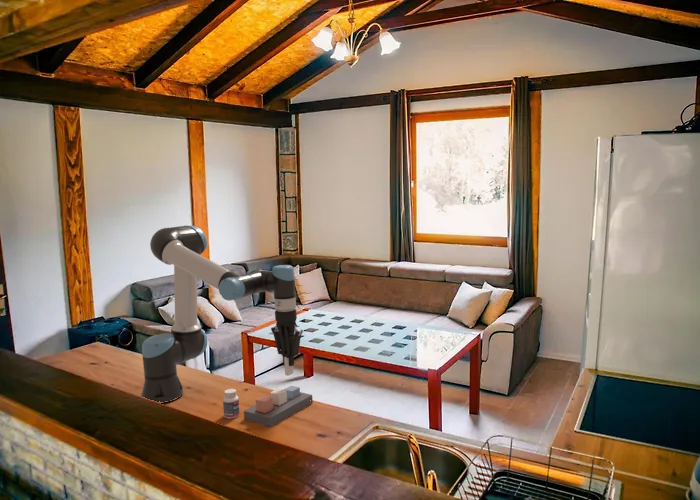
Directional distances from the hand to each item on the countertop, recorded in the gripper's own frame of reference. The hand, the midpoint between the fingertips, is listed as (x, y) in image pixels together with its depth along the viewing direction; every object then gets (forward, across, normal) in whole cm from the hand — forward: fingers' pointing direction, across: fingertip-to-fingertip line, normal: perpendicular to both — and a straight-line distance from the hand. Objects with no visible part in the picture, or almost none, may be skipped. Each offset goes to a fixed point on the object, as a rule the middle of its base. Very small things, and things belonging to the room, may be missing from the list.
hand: (289, 374), depth 186 cm
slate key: (+10, 0, +1) cm, 10 cm away
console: (+11, 0, -6) cm, 13 cm away
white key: (+8, 0, -6) cm, 10 cm away
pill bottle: (+12, -12, -17) cm, 24 cm away
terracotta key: (+8, 0, -13) cm, 16 cm away
